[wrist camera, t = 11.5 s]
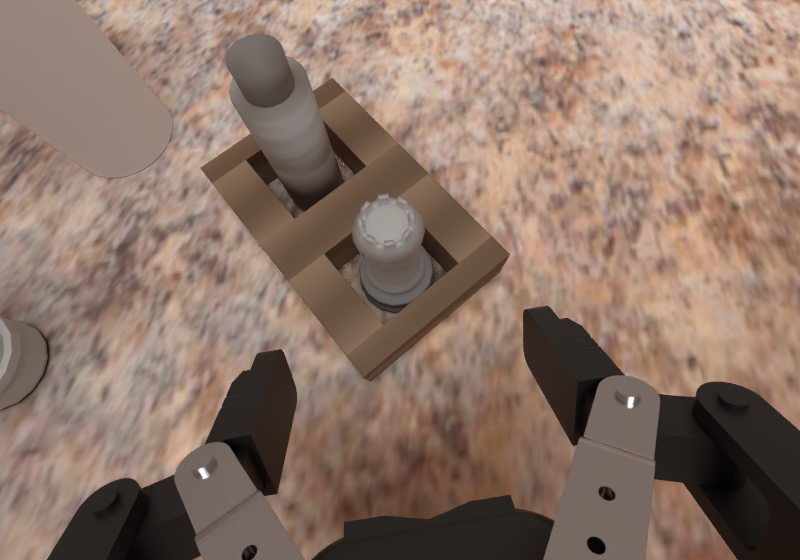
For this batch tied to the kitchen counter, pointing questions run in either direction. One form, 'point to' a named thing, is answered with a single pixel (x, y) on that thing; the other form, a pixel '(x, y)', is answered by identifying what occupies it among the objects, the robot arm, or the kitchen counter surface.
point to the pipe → (19, 360)
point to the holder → (338, 201)
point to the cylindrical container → (77, 89)
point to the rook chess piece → (392, 252)
